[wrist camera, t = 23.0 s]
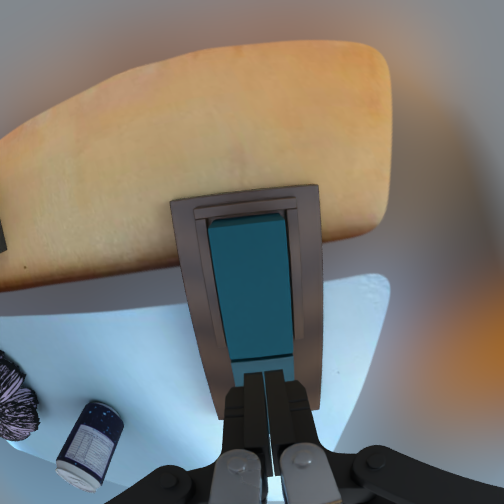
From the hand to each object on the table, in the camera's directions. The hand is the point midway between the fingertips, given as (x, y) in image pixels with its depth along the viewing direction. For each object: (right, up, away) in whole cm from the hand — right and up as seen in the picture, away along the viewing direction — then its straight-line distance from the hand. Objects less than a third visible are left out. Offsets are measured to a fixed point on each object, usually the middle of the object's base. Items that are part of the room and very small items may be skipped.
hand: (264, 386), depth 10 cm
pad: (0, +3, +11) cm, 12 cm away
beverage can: (-19, -16, +18) cm, 31 cm away
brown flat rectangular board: (0, -1, +14) cm, 14 cm away
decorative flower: (-38, -15, +17) cm, 45 cm away
